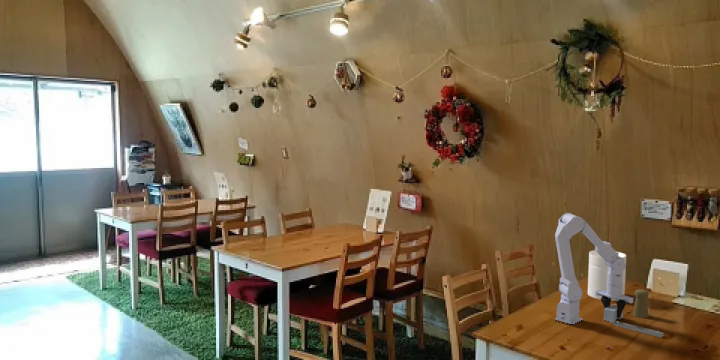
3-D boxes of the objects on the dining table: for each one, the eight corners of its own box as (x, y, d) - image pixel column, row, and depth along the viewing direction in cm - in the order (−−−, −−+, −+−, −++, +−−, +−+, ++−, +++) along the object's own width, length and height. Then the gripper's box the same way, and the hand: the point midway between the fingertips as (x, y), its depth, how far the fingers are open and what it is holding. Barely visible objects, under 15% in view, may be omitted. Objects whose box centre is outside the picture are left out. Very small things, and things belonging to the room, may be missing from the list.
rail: (661, 337, 211) (661, 333, 211) (613, 325, 224) (613, 321, 224) (663, 336, 212) (663, 332, 212) (615, 324, 225) (615, 320, 225)
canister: (580, 292, 268) (581, 251, 266) (607, 289, 273) (609, 249, 271) (604, 302, 253) (605, 259, 251) (632, 298, 258) (634, 256, 256)
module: (613, 323, 226) (614, 310, 226) (603, 320, 229) (604, 308, 229) (622, 317, 232) (623, 305, 232) (612, 315, 235) (613, 303, 235)
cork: (632, 316, 234) (633, 291, 233) (632, 312, 239) (633, 287, 238) (648, 318, 231) (649, 293, 230) (648, 314, 236) (649, 289, 235)
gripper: (636, 285, 227) (635, 317, 228) (601, 278, 237) (600, 309, 239) (629, 289, 222) (628, 322, 223) (594, 281, 233) (592, 313, 234)
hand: (613, 315), depth 231 cm, fingers closed on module, 4 cm apart
